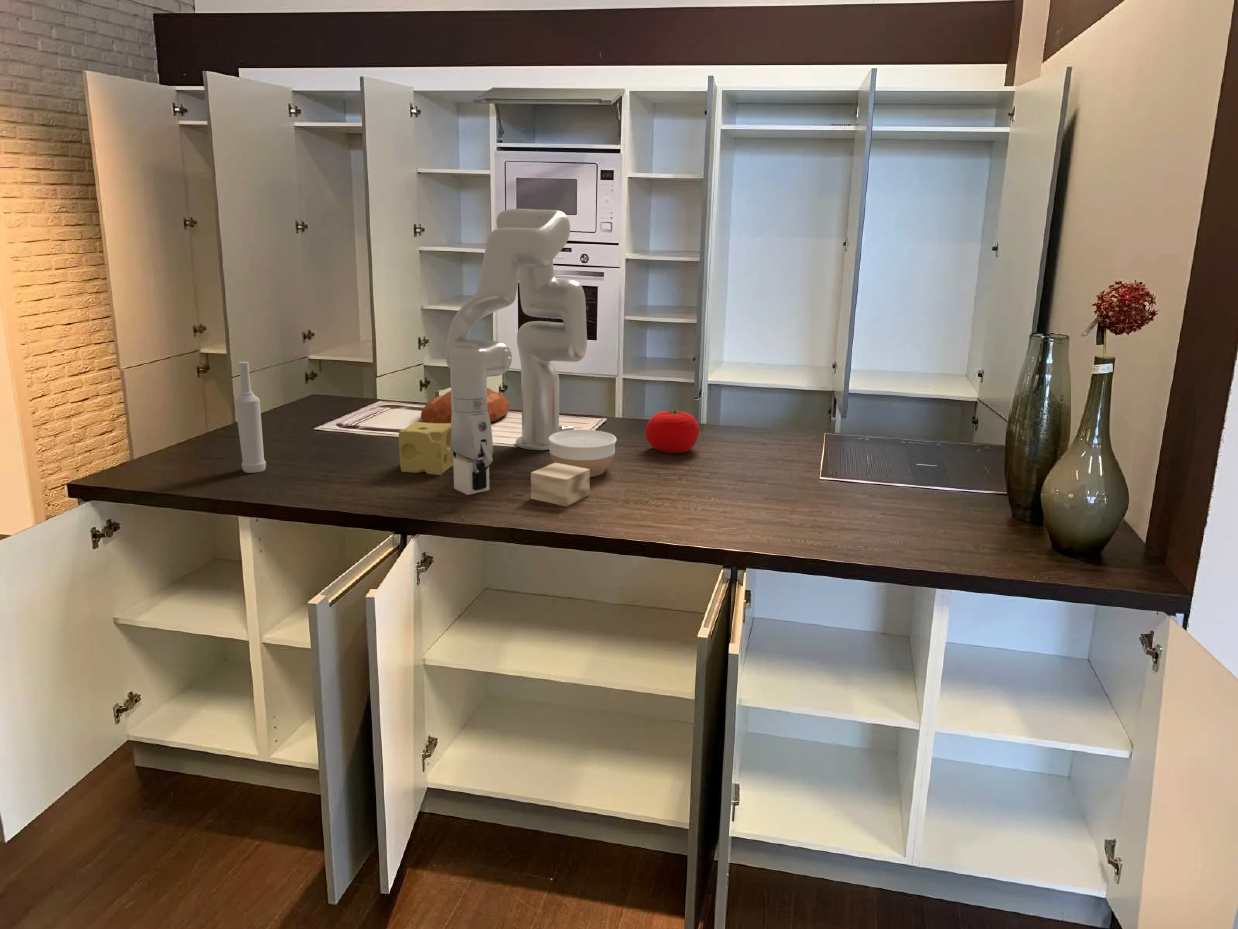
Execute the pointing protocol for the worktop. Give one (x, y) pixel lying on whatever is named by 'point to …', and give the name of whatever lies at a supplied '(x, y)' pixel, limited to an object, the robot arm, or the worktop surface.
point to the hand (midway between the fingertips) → (471, 484)
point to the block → (560, 484)
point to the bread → (442, 408)
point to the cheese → (426, 448)
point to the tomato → (672, 431)
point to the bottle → (249, 424)
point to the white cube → (466, 475)
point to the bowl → (583, 449)
